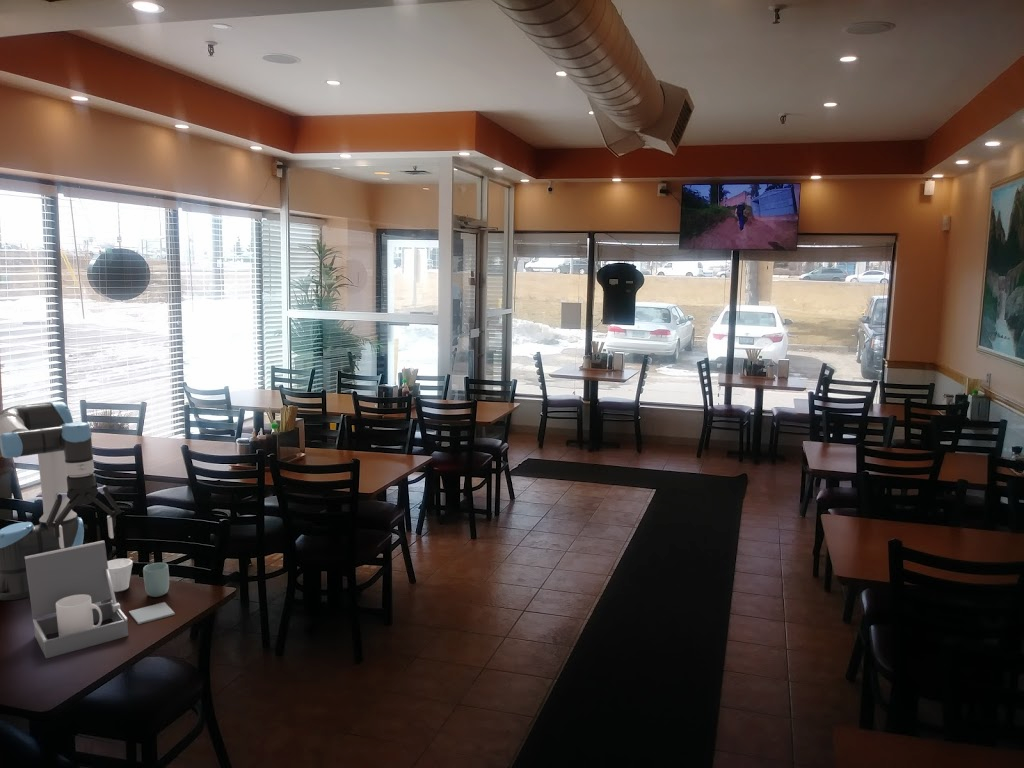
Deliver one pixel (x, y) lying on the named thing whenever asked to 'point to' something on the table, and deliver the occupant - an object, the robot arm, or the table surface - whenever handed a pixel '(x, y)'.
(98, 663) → the table surface
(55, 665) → the table surface
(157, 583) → the cup
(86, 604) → the mug
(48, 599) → the lid
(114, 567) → the cup
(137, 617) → the pad
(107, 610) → the case
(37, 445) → the robot arm
